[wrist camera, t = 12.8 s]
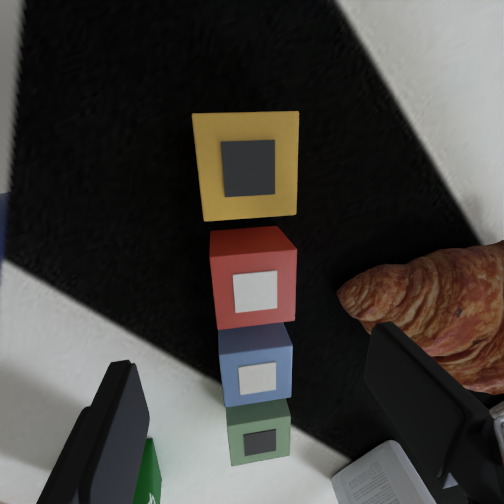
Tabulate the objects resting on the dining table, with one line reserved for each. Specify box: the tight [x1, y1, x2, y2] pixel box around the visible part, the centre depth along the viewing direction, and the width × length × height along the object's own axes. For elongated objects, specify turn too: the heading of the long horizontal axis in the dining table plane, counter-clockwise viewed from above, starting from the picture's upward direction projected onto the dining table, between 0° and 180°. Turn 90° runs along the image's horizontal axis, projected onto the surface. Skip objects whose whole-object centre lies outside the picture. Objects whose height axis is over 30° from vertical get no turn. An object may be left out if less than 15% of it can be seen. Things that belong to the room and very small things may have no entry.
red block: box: [209, 226, 297, 330], centre depth 17 cm, size 5×5×5 cm
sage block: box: [226, 398, 291, 466], centre depth 23 cm, size 5×5×5 cm
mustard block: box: [192, 111, 299, 221], centre depth 15 cm, size 5×5×5 cm
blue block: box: [218, 322, 292, 407], centre depth 20 cm, size 5×5×5 cm
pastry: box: [336, 240, 504, 395], centre depth 20 cm, size 17×15×8 cm
